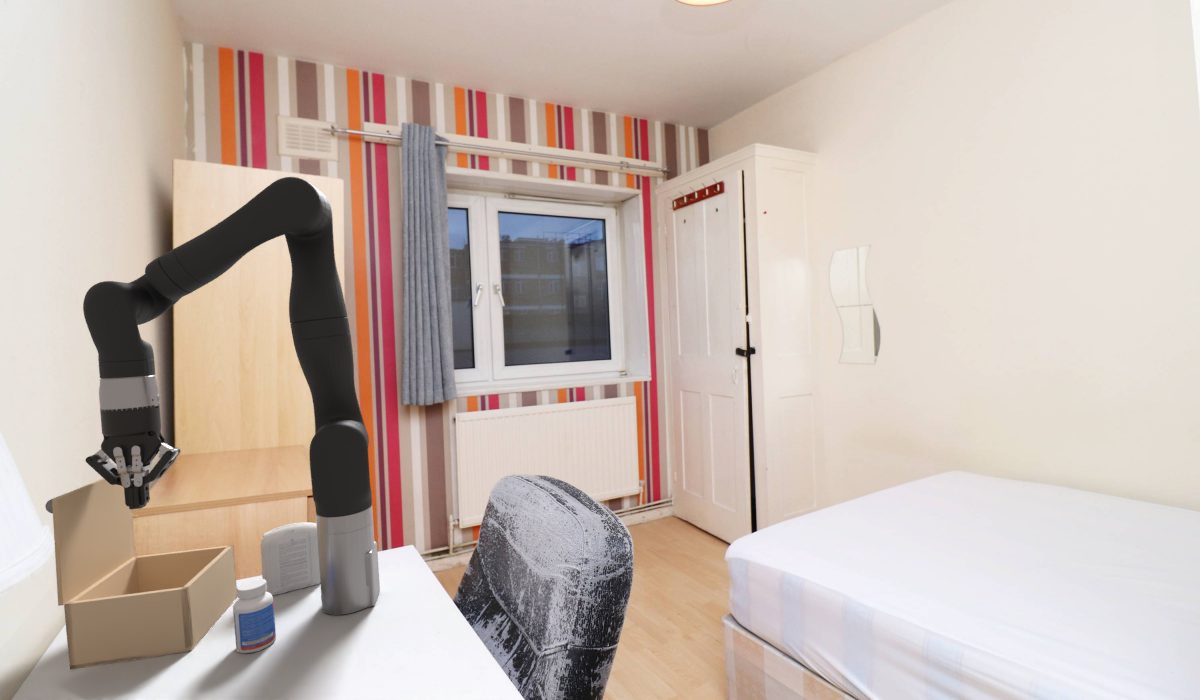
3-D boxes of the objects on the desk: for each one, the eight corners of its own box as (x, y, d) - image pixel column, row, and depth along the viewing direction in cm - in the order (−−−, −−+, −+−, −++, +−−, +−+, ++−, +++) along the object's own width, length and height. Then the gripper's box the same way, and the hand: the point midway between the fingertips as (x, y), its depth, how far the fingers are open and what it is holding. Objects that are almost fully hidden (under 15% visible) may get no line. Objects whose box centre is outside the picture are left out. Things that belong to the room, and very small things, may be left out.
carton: (237, 597, 105) (233, 544, 105) (191, 651, 88) (186, 588, 87) (138, 610, 101) (134, 556, 101) (69, 669, 84) (63, 604, 83)
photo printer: (322, 576, 113) (318, 515, 112) (325, 583, 109) (321, 521, 109) (262, 591, 107) (258, 527, 106) (264, 600, 104) (259, 534, 103)
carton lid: (130, 468, 100) (89, 471, 99) (56, 499, 82) (5, 502, 81) (134, 556, 101) (94, 559, 100) (63, 605, 83) (12, 610, 82)
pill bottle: (283, 638, 90) (279, 579, 90) (250, 657, 85) (246, 595, 85) (261, 632, 92) (257, 574, 92) (228, 650, 87) (223, 589, 87)
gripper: (66, 410, 87) (75, 519, 88) (164, 404, 90) (172, 510, 91) (97, 403, 94) (105, 505, 95) (187, 398, 97) (194, 496, 98)
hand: (138, 507), depth 93 cm, fingers closed
